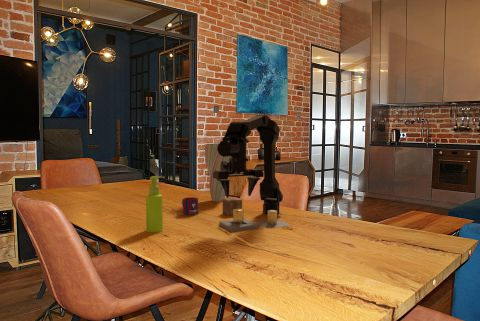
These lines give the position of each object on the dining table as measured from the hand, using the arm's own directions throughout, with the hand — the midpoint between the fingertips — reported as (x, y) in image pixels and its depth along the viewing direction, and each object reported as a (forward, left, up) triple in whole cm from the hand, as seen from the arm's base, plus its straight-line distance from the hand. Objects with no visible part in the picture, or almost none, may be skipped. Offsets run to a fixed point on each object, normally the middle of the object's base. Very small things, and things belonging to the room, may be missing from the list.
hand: (238, 196), depth 145 cm
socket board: (0, 0, -12) cm, 12 cm away
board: (-14, +1, -12) cm, 18 cm away
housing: (-8, -22, -12) cm, 27 cm away
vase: (-16, -57, -12) cm, 60 cm away
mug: (+8, -34, -12) cm, 37 cm away
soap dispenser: (+29, -11, -12) cm, 33 cm away
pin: (0, 0, -12) cm, 12 cm away
